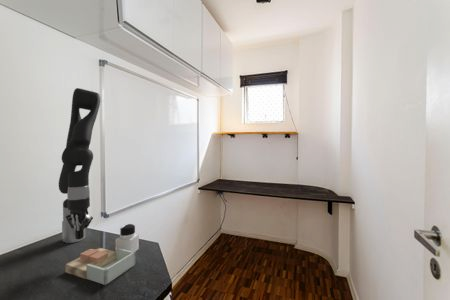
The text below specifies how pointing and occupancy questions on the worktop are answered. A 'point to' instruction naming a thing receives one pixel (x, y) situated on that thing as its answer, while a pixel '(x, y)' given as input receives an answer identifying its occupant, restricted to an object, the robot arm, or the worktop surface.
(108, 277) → the box
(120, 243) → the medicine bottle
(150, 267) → the worktop surface
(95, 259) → the tile
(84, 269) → the wooden slab
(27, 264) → the worktop surface
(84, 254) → the tile
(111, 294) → the worktop surface
